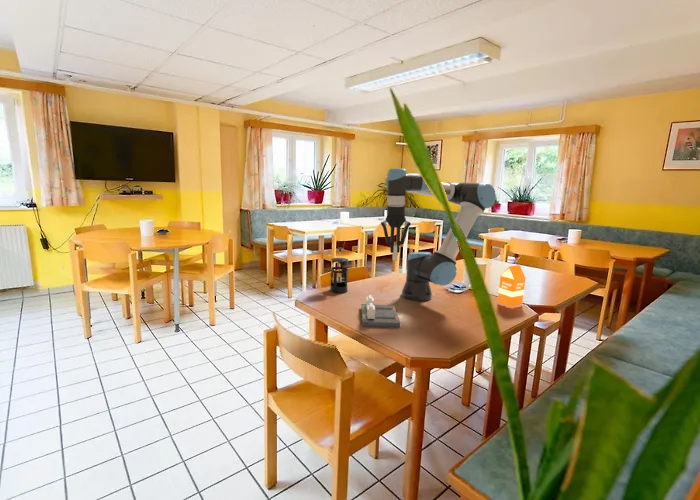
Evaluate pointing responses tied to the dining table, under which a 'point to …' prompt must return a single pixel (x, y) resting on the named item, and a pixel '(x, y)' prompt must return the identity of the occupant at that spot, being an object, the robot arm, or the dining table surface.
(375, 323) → the switch board
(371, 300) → the on handle
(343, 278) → the french press
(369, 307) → the handle
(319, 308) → the dining table surface
